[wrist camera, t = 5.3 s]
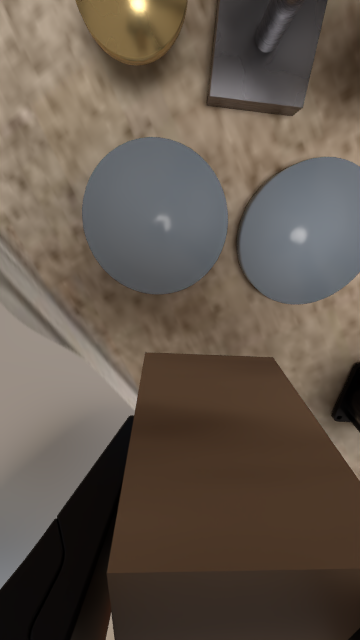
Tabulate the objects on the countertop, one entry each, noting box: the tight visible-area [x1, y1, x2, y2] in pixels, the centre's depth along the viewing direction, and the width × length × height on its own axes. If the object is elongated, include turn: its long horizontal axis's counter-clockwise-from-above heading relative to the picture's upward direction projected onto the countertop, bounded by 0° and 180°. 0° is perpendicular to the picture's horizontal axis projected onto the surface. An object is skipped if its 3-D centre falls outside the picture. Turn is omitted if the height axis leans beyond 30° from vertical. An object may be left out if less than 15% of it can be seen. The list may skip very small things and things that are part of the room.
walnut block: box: [107, 352, 360, 640], centre depth 7 cm, size 4×4×6 cm
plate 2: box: [237, 157, 360, 304], centre depth 16 cm, size 9×9×1 cm
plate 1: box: [82, 137, 228, 294], centre depth 15 cm, size 9×9×1 cm
